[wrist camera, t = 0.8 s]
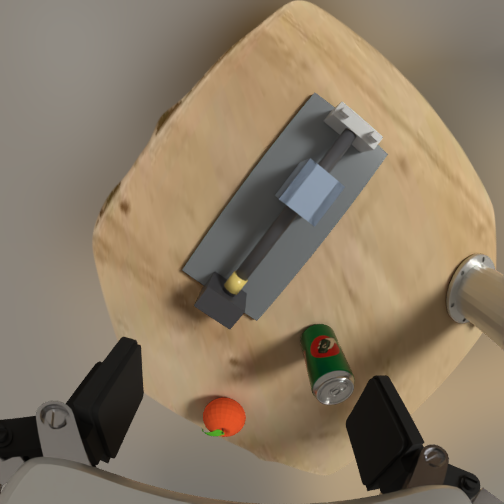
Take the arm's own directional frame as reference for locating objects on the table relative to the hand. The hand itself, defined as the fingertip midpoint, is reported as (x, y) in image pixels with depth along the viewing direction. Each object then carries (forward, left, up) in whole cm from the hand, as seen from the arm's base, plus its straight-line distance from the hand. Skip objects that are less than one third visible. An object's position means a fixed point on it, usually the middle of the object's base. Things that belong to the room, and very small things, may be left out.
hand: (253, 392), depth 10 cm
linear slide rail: (0, -5, -26) cm, 26 cm away
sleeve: (0, -8, -25) cm, 26 cm away
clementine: (-12, +26, -26) cm, 39 cm away
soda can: (-15, +6, -26) cm, 31 cm away
